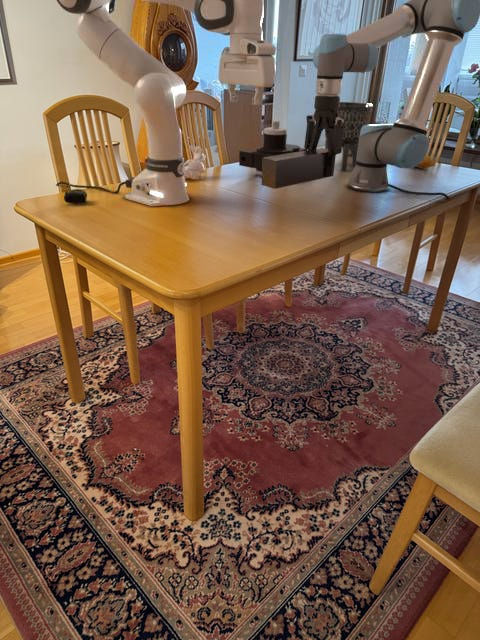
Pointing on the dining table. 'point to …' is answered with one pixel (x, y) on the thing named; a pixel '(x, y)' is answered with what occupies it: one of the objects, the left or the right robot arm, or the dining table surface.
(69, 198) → the tape measure
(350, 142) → the planter
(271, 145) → the mechanical component
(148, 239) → the dining table surface
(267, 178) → the bar
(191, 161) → the figurine
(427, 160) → the toy
